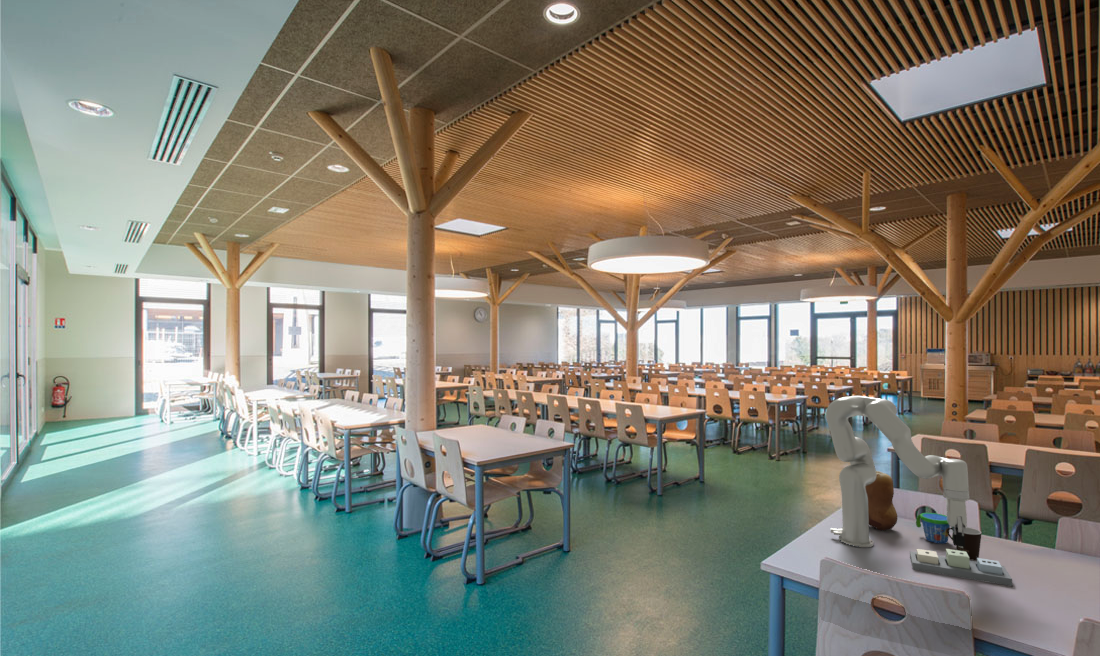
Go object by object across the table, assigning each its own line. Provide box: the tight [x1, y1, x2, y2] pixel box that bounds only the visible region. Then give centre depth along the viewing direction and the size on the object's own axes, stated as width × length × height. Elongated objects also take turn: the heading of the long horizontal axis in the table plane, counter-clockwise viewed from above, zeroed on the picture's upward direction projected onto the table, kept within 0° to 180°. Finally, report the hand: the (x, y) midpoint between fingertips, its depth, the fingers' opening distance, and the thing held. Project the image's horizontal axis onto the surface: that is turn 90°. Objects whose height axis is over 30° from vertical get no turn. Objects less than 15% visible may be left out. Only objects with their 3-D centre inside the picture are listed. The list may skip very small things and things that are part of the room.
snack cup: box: [915, 512, 953, 545], centre depth 220 cm, size 16×10×10 cm
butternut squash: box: [865, 470, 898, 532], centre depth 236 cm, size 14×13×25 cm
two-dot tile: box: [945, 548, 970, 569], centre depth 192 cm, size 6×6×4 cm
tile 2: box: [976, 557, 1003, 575], centre depth 187 cm, size 6×6×4 cm
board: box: [909, 550, 1013, 587], centre depth 192 cm, size 28×12×2 cm, turn 60°
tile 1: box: [916, 548, 939, 564], centre depth 196 cm, size 6×6×4 cm
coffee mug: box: [947, 526, 982, 561], centre depth 206 cm, size 12×9×10 cm
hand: (959, 545), depth 192 cm, fingers closed
